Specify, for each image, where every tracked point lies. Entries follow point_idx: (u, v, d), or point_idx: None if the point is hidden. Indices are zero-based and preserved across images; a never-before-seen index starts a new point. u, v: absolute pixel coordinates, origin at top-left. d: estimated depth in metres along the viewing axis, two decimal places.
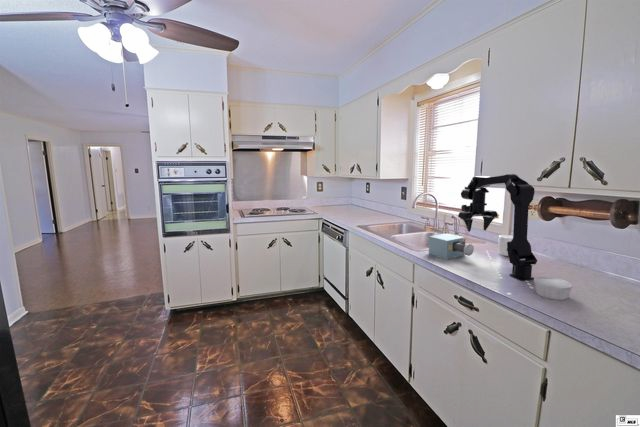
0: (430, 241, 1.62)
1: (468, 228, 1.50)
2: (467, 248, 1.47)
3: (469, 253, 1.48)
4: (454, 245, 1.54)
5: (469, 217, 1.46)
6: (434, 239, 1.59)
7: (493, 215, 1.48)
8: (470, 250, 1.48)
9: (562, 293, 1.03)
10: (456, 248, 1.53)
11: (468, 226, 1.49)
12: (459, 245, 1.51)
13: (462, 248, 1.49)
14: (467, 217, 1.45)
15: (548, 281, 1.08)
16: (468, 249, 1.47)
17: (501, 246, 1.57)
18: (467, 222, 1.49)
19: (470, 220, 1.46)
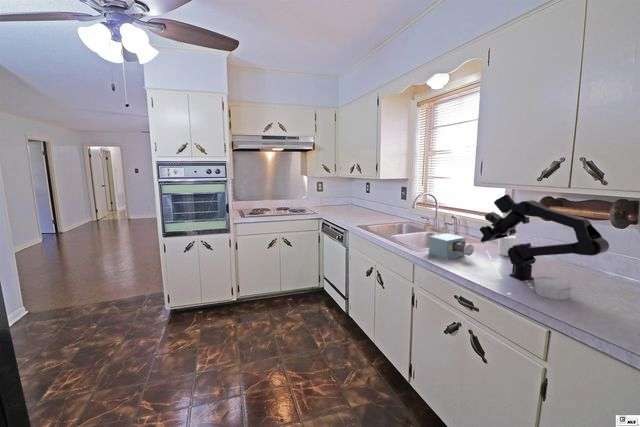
0: (430, 241, 1.62)
1: (483, 240, 1.37)
2: (467, 248, 1.47)
3: (469, 253, 1.48)
4: (454, 245, 1.54)
5: (491, 238, 1.29)
6: (434, 239, 1.59)
7: (511, 234, 1.35)
8: (470, 250, 1.48)
9: (562, 293, 1.03)
10: (456, 248, 1.53)
11: (484, 239, 1.35)
12: (459, 245, 1.51)
13: (462, 248, 1.49)
14: (490, 239, 1.29)
15: (548, 281, 1.08)
16: (468, 249, 1.47)
17: (501, 246, 1.57)
18: None
19: (492, 239, 1.31)
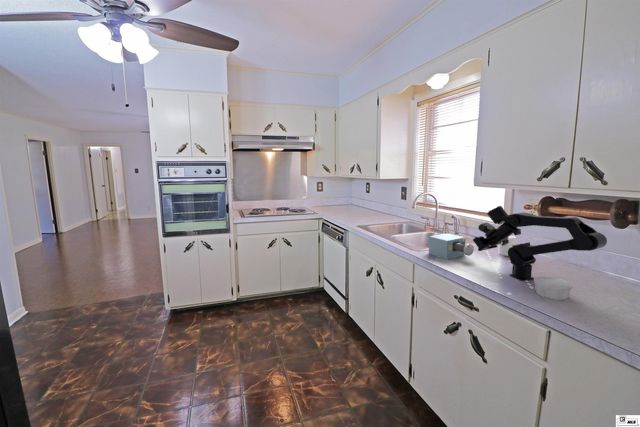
0: (430, 241, 1.62)
1: None
2: (467, 248, 1.47)
3: (469, 253, 1.48)
4: (454, 245, 1.54)
5: (484, 249, 1.33)
6: (434, 239, 1.59)
7: (503, 244, 1.38)
8: (470, 250, 1.48)
9: (562, 293, 1.03)
10: (456, 248, 1.53)
11: None
12: (459, 245, 1.51)
13: (462, 248, 1.49)
14: (482, 249, 1.32)
15: (548, 281, 1.08)
16: (468, 249, 1.47)
17: (501, 246, 1.57)
18: None
19: (489, 248, 1.36)
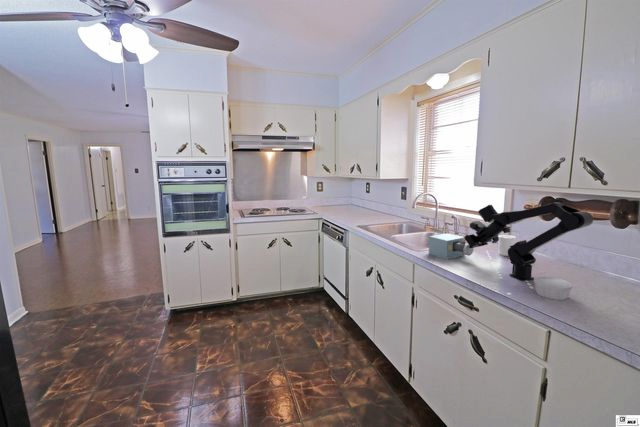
0: (430, 241, 1.62)
1: (471, 246, 1.46)
2: (467, 248, 1.47)
3: (469, 253, 1.48)
4: (454, 245, 1.54)
5: (475, 246, 1.37)
6: (434, 239, 1.59)
7: (494, 242, 1.42)
8: (470, 250, 1.48)
9: (562, 293, 1.03)
10: (456, 248, 1.53)
11: None
12: (459, 245, 1.52)
13: (462, 248, 1.49)
14: (473, 246, 1.36)
15: (548, 281, 1.08)
16: (468, 249, 1.47)
17: (501, 246, 1.57)
18: None
19: None
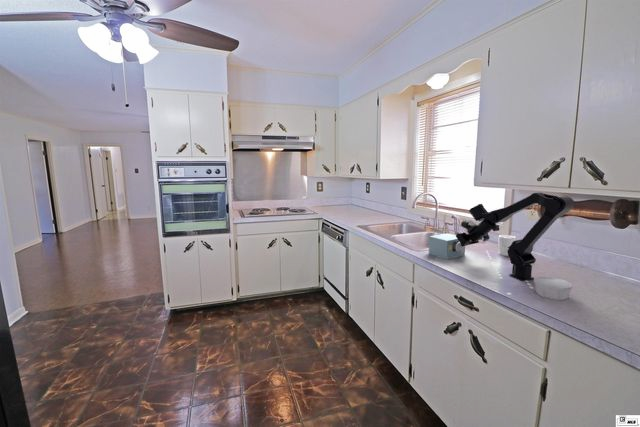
0: (430, 241, 1.62)
1: (463, 244, 1.50)
2: (459, 246, 1.51)
3: (461, 251, 1.52)
4: None
5: (466, 244, 1.41)
6: (434, 239, 1.59)
7: (485, 240, 1.47)
8: (462, 247, 1.52)
9: (562, 293, 1.03)
10: None
11: None
12: None
13: (454, 246, 1.54)
14: (464, 244, 1.41)
15: (548, 281, 1.08)
16: (460, 247, 1.52)
17: (501, 246, 1.57)
18: None
19: (470, 244, 1.45)
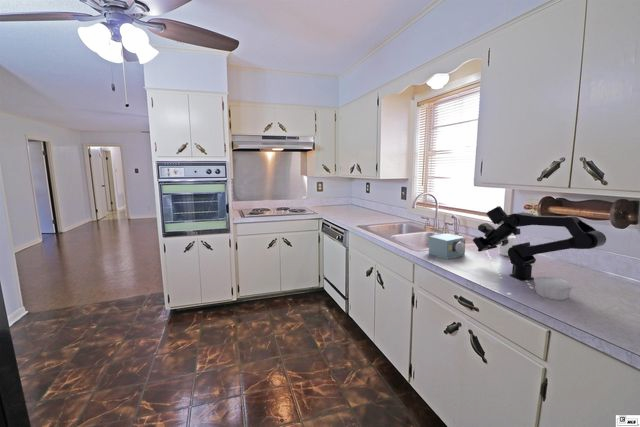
0: (430, 241, 1.62)
1: (480, 249, 1.41)
2: (458, 246, 1.51)
3: (460, 251, 1.52)
4: None
5: (484, 249, 1.33)
6: (434, 239, 1.59)
7: (503, 245, 1.38)
8: (462, 247, 1.52)
9: (562, 293, 1.03)
10: None
11: None
12: None
13: (454, 246, 1.54)
14: (482, 249, 1.32)
15: (548, 281, 1.08)
16: (459, 247, 1.52)
17: (501, 246, 1.57)
18: None
19: None
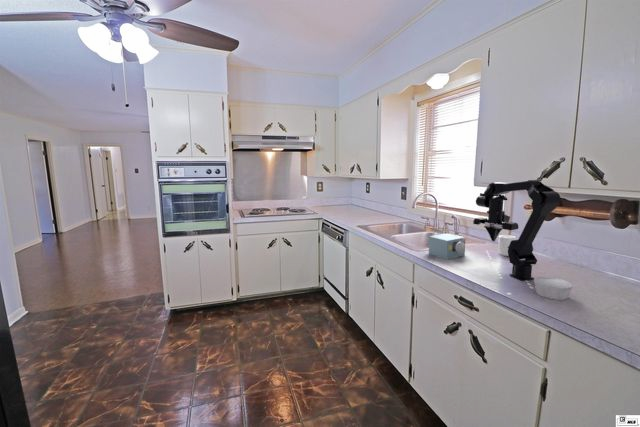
0: (430, 241, 1.62)
1: None
2: (458, 246, 1.51)
3: (460, 251, 1.52)
4: None
5: (476, 223, 1.44)
6: (434, 239, 1.59)
7: (504, 227, 1.32)
8: (462, 247, 1.52)
9: (562, 293, 1.03)
10: None
11: None
12: None
13: (454, 246, 1.54)
14: (474, 222, 1.45)
15: (548, 281, 1.08)
16: (459, 247, 1.52)
17: (501, 246, 1.57)
18: None
19: (486, 228, 1.40)
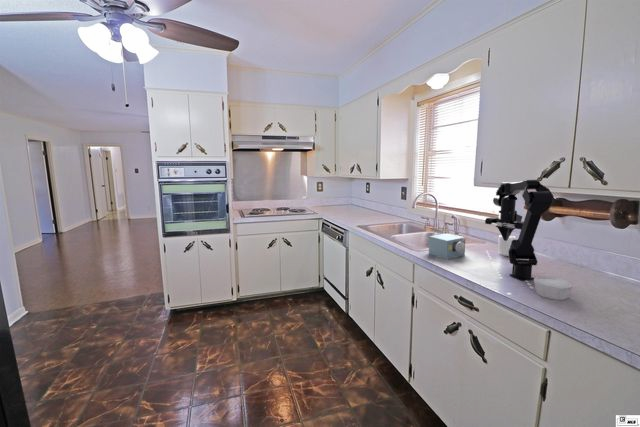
0: (430, 241, 1.62)
1: None
2: (458, 246, 1.51)
3: (460, 251, 1.52)
4: None
5: (488, 222, 1.45)
6: (434, 239, 1.59)
7: (517, 226, 1.32)
8: (462, 247, 1.52)
9: (562, 293, 1.03)
10: None
11: None
12: None
13: (454, 246, 1.54)
14: (486, 222, 1.46)
15: (548, 281, 1.08)
16: (459, 247, 1.52)
17: (501, 246, 1.57)
18: None
19: (498, 227, 1.40)
